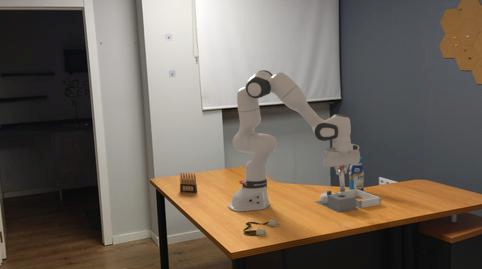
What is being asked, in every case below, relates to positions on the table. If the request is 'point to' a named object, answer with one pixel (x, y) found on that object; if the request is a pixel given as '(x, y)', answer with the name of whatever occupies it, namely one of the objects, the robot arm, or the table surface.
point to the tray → (369, 198)
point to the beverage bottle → (356, 176)
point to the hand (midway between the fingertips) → (341, 174)
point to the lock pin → (342, 179)
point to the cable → (261, 231)
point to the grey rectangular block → (338, 201)
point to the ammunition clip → (188, 183)
